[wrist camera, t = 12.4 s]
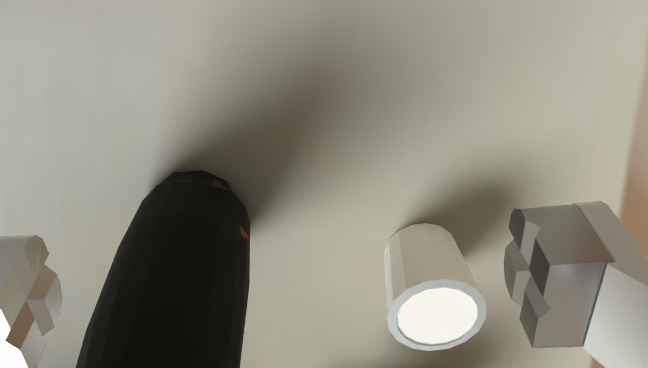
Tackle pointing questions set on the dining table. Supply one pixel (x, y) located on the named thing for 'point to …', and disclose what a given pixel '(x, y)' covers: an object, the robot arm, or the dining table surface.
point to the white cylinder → (430, 290)
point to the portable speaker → (176, 282)
